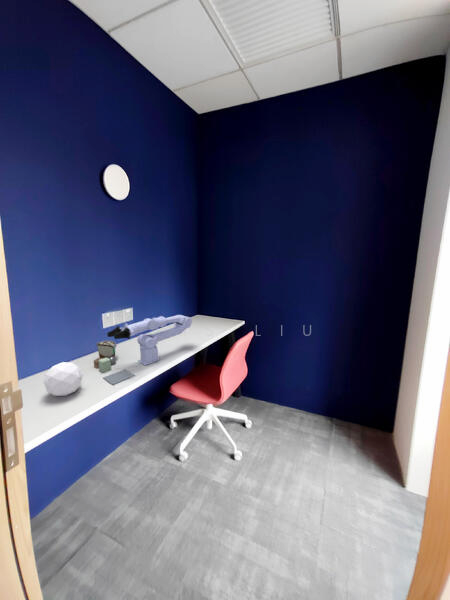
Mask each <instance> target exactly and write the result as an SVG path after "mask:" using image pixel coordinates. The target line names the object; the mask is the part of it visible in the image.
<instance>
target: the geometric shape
mask: <svg viewBox="0 0 450 600" xmlns="http://www.w3.org/2000/svg"><path fill="white" fill-rule="evenodd" d="M80 368H81V367H79V366H78V365H76V364H75V363H74V362H65V361H62V362H60V363H57V364H55V365H52V366H51V367H50V369H49V370H48V371H47V372H46V373H45V375H44V376H45V377H44V380H43V384H44V387H45V390H46V392H48V393H49V394H51V395H52V396H55V397H56V396H58V397H66V396H68V395H70V394H72V393H74V392H76V390H77V389H78V388H79V387H80V385H81V383H82V380H83V379H82V378H83V373H82V371H81V369H80Z"/></svg>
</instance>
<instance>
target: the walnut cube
mask: <svg viewBox="0 0 450 600" xmlns="http://www.w3.org/2000/svg"><path fill="white" fill-rule="evenodd" d="M100 359H102V358H99V357H98V358H96V359H94V360H93V366H94V368H96V369H98V370H99V362H98V360H100Z"/></svg>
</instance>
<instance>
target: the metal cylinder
mask: <svg viewBox="0 0 450 600" xmlns="http://www.w3.org/2000/svg"><path fill="white" fill-rule="evenodd" d="M108 359H110V361H111V366H114V365H116V363H117V362H116V355H115V356H109V357H108Z"/></svg>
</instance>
